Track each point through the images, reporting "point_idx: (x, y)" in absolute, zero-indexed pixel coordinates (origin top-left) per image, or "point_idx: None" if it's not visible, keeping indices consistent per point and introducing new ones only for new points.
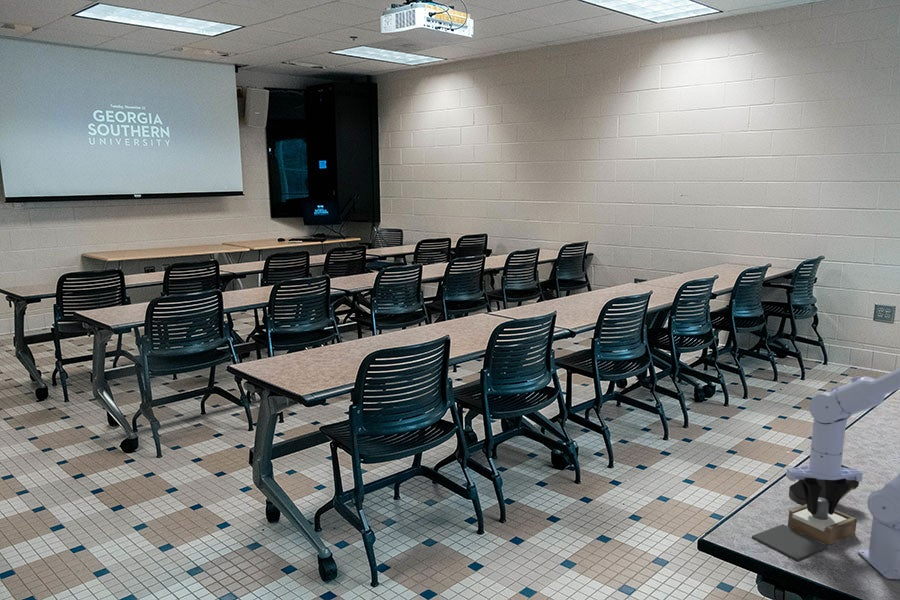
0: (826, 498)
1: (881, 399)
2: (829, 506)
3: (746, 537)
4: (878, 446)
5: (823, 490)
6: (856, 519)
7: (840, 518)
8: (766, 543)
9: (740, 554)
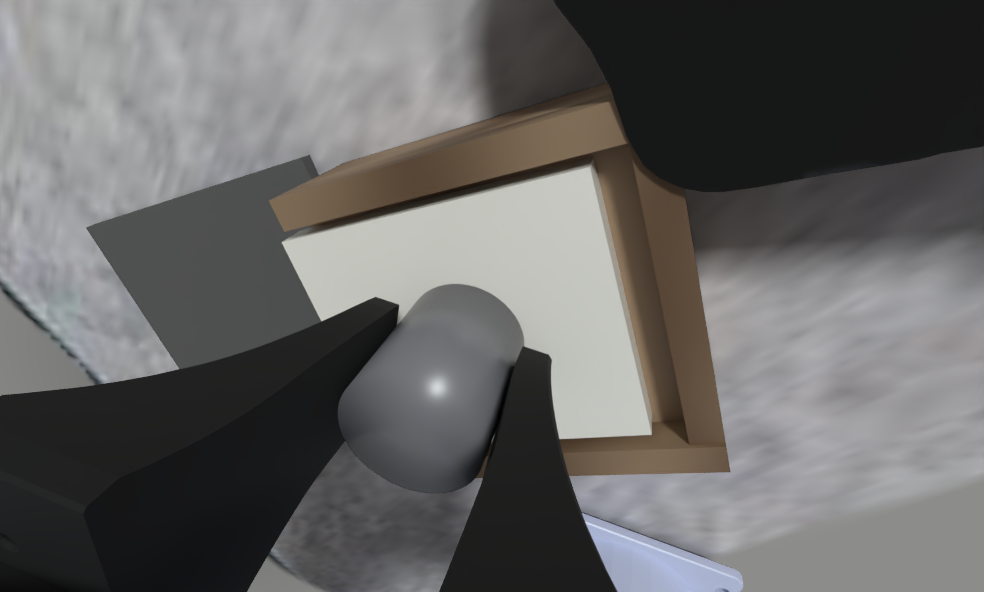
0: (499, 427)
1: None
2: (493, 441)
3: (73, 212)
4: None
5: None
6: (723, 465)
7: (602, 415)
8: (139, 306)
9: (32, 321)
